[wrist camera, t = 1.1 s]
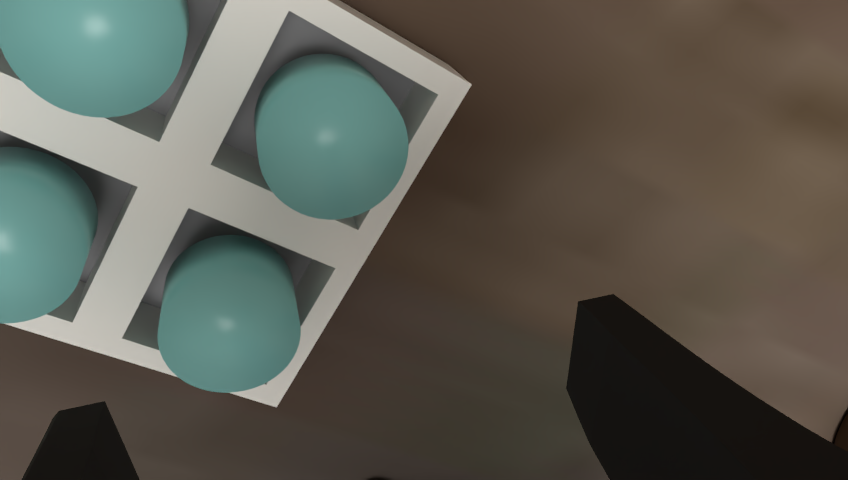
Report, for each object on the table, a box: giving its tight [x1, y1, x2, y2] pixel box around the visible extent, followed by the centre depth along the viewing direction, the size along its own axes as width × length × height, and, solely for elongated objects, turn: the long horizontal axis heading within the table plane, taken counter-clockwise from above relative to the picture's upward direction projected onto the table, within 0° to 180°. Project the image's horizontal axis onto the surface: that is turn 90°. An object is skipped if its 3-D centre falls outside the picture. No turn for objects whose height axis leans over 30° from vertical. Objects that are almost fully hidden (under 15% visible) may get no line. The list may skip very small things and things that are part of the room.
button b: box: [0, 147, 98, 324], centre depth 18 cm, size 4×4×2 cm
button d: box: [0, 0, 189, 118], centre depth 17 cm, size 4×4×2 cm
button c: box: [254, 54, 409, 220], centre depth 19 cm, size 4×4×2 cm
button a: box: [157, 235, 301, 393], centre depth 21 cm, size 4×4×2 cm
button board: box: [0, 0, 472, 407], centre depth 20 cm, size 12×12×2 cm
